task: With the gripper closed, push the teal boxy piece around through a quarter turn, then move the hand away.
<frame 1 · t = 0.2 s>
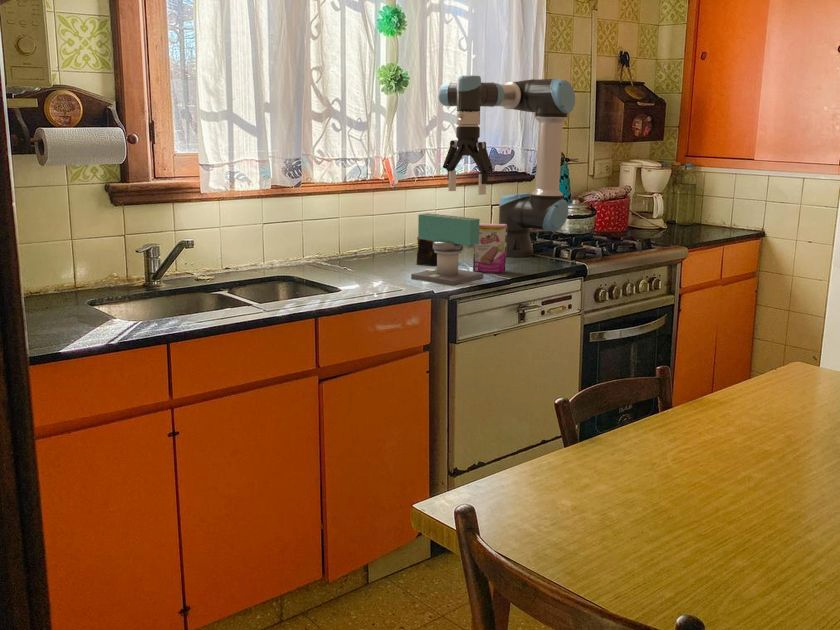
hand: (466, 192, 274), 28 cm above the table, fingers open, 13 cm apart
teal boxy piece: (448, 232, 275), point 15 cm above the table, hinge at 0.0°
candy bar box: (489, 272, 289), on the table
post base: (447, 278, 278), on the table
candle: (434, 264, 304), on the table
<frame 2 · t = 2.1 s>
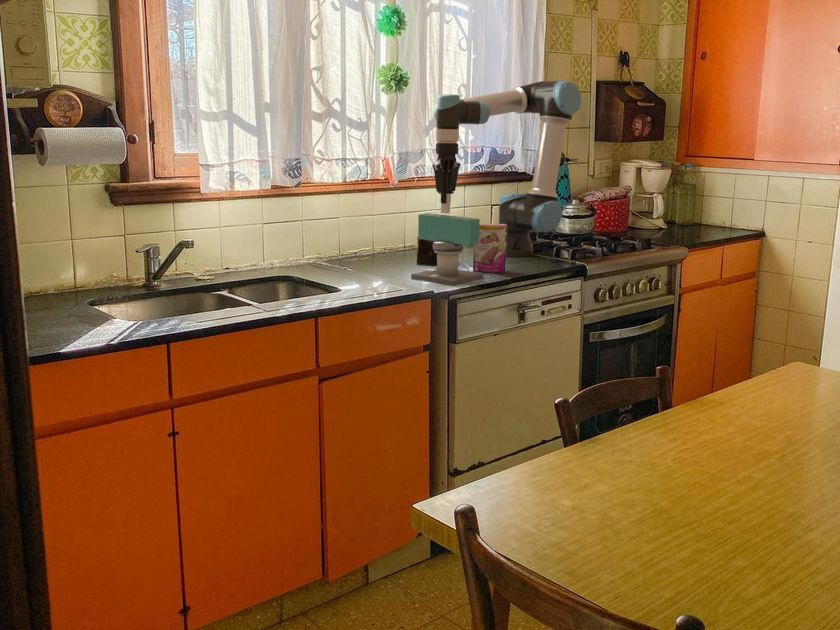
hand: (445, 213, 286), 20 cm above the table, fingers closed
nothing on the table moved.
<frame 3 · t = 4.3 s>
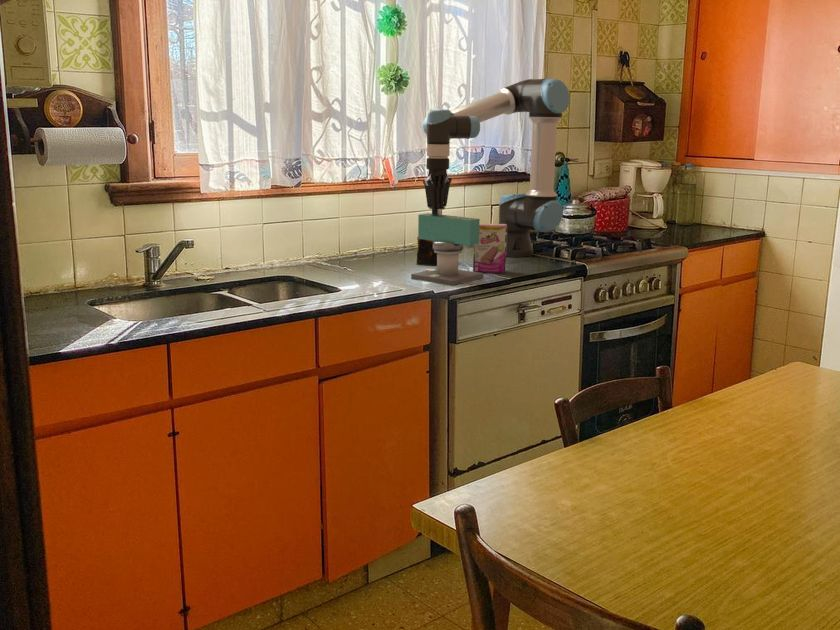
hand: (436, 228, 283), 15 cm above the table, fingers closed
teal boxy piece: (448, 232, 275), point 15 cm above the table, hinge at 0.0°, touching gripper
everything else where it was.
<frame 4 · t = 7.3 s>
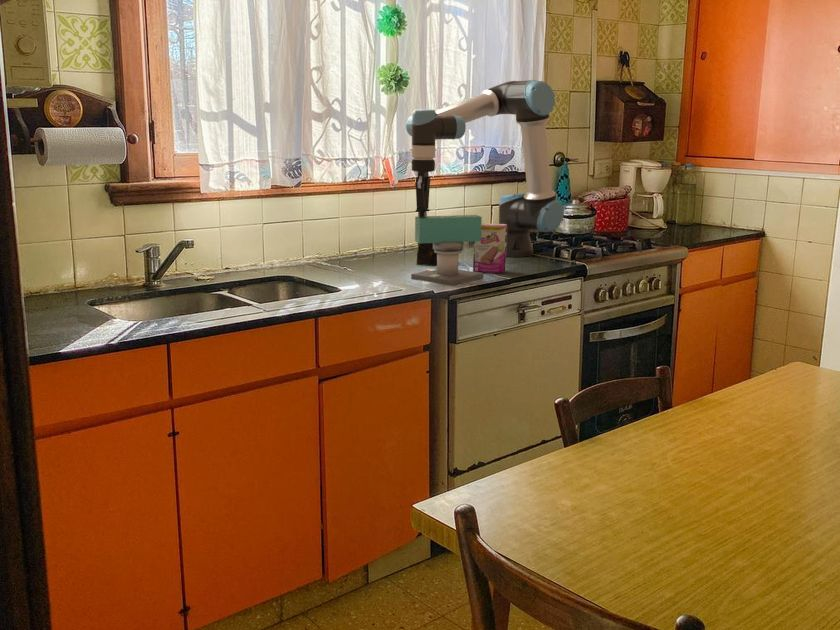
hand: (422, 231, 277), 15 cm above the table, fingers closed
teal boxy piece: (448, 232, 275), point 15 cm above the table, hinge at 55.2°, touching gripper
everything else where it was.
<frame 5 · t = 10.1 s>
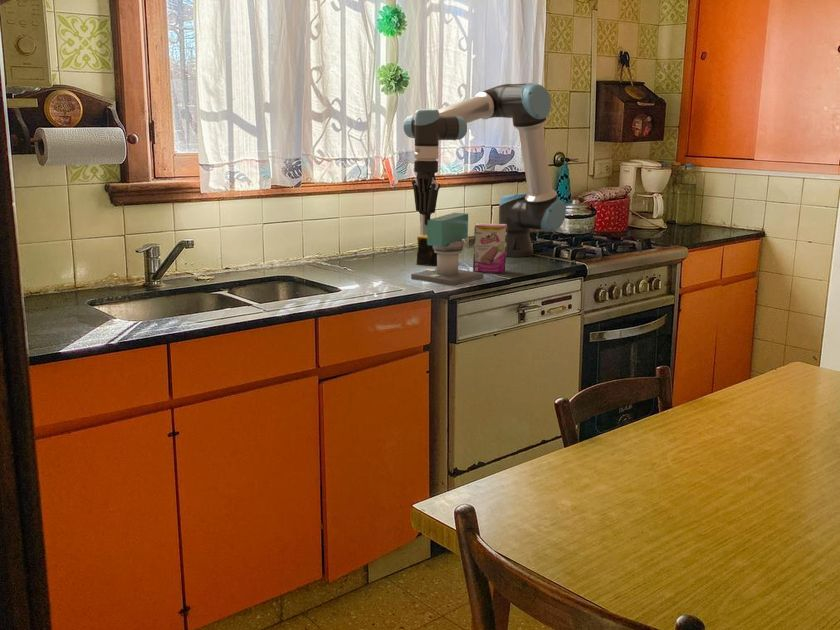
hand: (424, 234, 270), 15 cm above the table, fingers closed
teal boxy piece: (448, 232, 275), point 15 cm above the table, hinge at 102.6°, touching gripper
everything else where it was.
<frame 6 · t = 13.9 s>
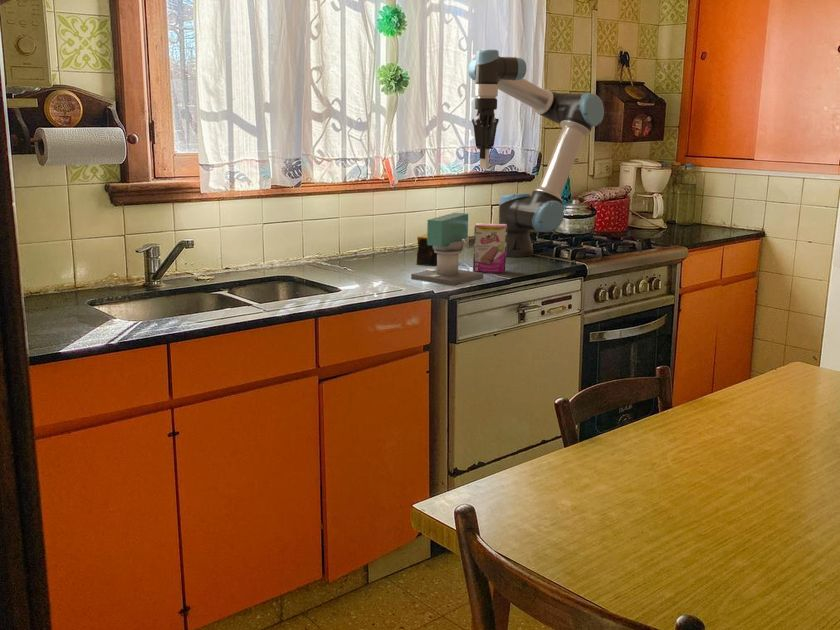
hand: (484, 168, 290), 34 cm above the table, fingers closed
teal boxy piece: (448, 232, 275), point 15 cm above the table, hinge at 102.6°
everything else where it was.
at the end: teal boxy piece at +103° (first picture: +0°); teal boxy piece touching nothing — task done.
